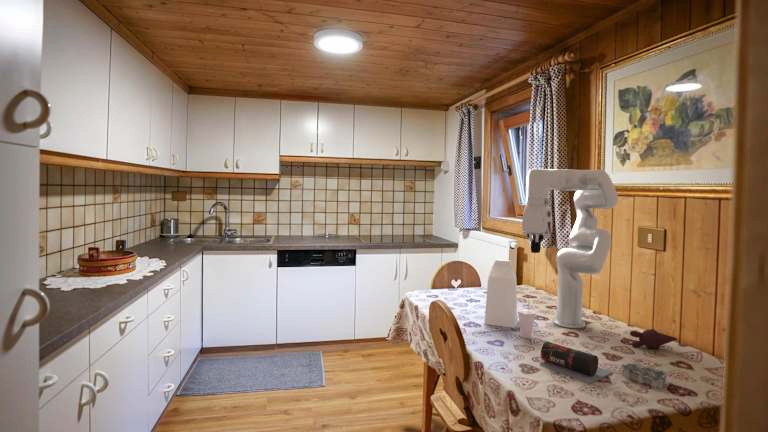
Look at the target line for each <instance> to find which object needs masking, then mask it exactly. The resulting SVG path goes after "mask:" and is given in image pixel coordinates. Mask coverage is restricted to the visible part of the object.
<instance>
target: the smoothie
mask: <svg viewBox="0 0 768 432" xmlns="http://www.w3.org/2000/svg"><path fill="white" fill-rule="evenodd" d="M536 314H537V312H536V311H534V310H532V309H530V299H528V300H527V309H524V308H520V309H517V315H518V322H519V333H520V335H519V336H520V338H522V339H526V338H529V339H531V338H532V333H533V329H534V328H533V327H534V322H535V317H536Z"/></svg>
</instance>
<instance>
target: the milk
mask: <svg viewBox="0 0 768 432" xmlns="http://www.w3.org/2000/svg"><path fill="white" fill-rule="evenodd" d="M517 279H518V278H517V274H516V271H515V267H514V265H513V263H512V261H511V260H510V259H509V260H507V259H495V260H494V263H493V265H492V267H491V270H490V272H489V275H488V279H487V287H486V299H485V300H486V301H485V312H484V313H485V314H484V322H483V323H484V324H485V325H492V326H498V327H505V328H514V329H515V328H516V326H517V322H518V291H517V288H518V287H517V284H518V283H517V282H518V281H517Z"/></svg>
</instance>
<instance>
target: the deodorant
mask: <svg viewBox="0 0 768 432" xmlns="http://www.w3.org/2000/svg"><path fill="white" fill-rule="evenodd" d="M540 358H541V360H542V361H548V362H551V363H554V364H557V365H560V366H563V367H566V368H569V369H572V370H575V371H578V372H581V373H584V374H587V375H590V376H594V375H595V374H596V372H597V368H598V367H599V358H598V356H597V355H595V354H591V353H588V352H585V351H582V350H579V349H574V348H571V347H568V346H565V345H560V344H557V343H554V342H551V341H545V342H543V344H542V346H541V349H540Z"/></svg>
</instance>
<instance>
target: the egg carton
mask: <svg viewBox="0 0 768 432" xmlns="http://www.w3.org/2000/svg"><path fill="white" fill-rule="evenodd" d="M621 367H622V373H621V375H622V377H624V378H625V379H626V378H627V380H633V381H634V380H635V381H637V383H639V384H646V383H647V385H649V384H650V386H652V388H655V389H656V387H657V388H658V387H660V389H662V387H664V385H667V378H668V373H669V370H661V369H657V368H656V369H655V367H653V366H652V367H649V366H648V365H643V364H641V363H639V362H636V361H634V362H628V363H627V364H624V363H622V364H621Z"/></svg>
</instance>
